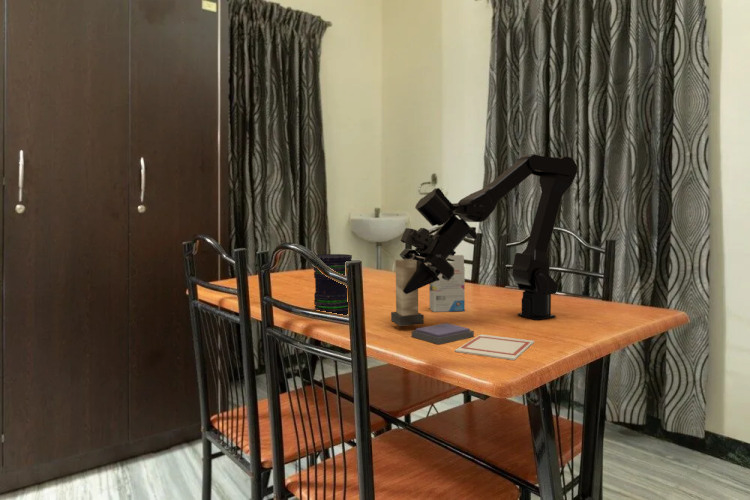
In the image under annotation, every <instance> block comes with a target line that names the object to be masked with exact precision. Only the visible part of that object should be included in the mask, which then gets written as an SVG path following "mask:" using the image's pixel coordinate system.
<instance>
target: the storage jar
mask: <svg viewBox="0 0 750 500" xmlns="http://www.w3.org/2000/svg"><path fill="white" fill-rule="evenodd" d="M316 256H317V257H318V258H320V259H321V260H322V261H323V262H324V263H325V264H326V265H327V266H329V267H330V268H331V269H333V270H334V271H336V272H338V273H340V274H343V275H345V262H346V261H352V258H353V255H352V254H343V253H342V254H341V253H332V254H329V253H328V254H327V253H326V254H325V253H324V254H317V255H316ZM313 271H314V272H313V278H314V285H315V286H314V287H315V292H314V300H313V303H314V311H315V310H320V311H326V312H332V313H337V314H343V315H347V314H348V302H347V288H346V286H345V285H343V284H340V283H338V282H336V281H334V280H332V279H330V278H328V277H326V276H325V275H324V274H322V273H321V272H320V271H319V270H318V269H317V268H315V267H314V266H313Z"/></svg>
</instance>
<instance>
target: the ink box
mask: <svg viewBox="0 0 750 500" xmlns="http://www.w3.org/2000/svg"><path fill="white" fill-rule="evenodd" d="M464 257H465V256H464V255H463V254H455V255H454V256H451V255H449V257H448V258H447V259H446V260H447V261H448V259H450V260H453V261H448V262H449V263H450V264H451V265H452V267H453V268H454V275H453V277H452V278H451V279H450V280H449V281H447V280H444V279H443V278H442V274H440V275H439V276H438V278H439V279H440V280H439V281H435V282H433V283H430V284H428V285H429V287H428V288H429V310H431V312H432V313H433V312H434V313H440V312H444V313H445V312H465V310H466V309H465V305H466V304H465V301H466V300H465V296H466V295H465V285H466V284H465V283H466V282H465V281H466V280H465V279H466V278H465V271H466V270H465V258H464Z"/></svg>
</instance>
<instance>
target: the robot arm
mask: <svg viewBox="0 0 750 500" xmlns="http://www.w3.org/2000/svg"><path fill="white" fill-rule="evenodd" d="M577 174H578V164H577V163H576V161H575V160H574V158H572V157H570V156H562V157H555V156H553V157H552V156H543V155H538V154H535V153H533V154H526V155H522V156H521V157H520V158H518V160H517V161H516V162H515V163H513V164H512V165H511V166H509V167H508V168H507V169H506V170H505V171H504V172H502V173H501V174H499V176H498V177H496V178H494V179H493V180H492V181H491V182H490V183H489V184H487V185H486V186H485V187H483V188H481V189H479V190H477V191H475V192H473V193H470V194H468V195H466V196H464V197H463V198H461V199H460V200H459V201H458V202H456V203H455V202H454V203H452V202H451V201H450V200H449V199H448V197H447V196H446V195H445V194H444V192H443V191H442V189H440V188H439V187H437V188H434V189H433V190H432V191H430V192H429V193H427V194H426V195H425V196H423V197H421V198H420V199H419V200H418V202H417V203H416V205H415V208H414V209H416V211H417V212H419V214H420V215H421V216H422V217H423V218H424V219H425V220H426V221H427V223H429V224H430V225H431V226H432V227H434V226H438V227H439V229H438V230H437V231H436V232H435V233H434V234H432V233H431V234H430V230H429V229H427V228H425V227H420V228H419V229H414V228H410V227H408V228H407V227H406V228H405V230H404V231H403V233H402V236H401V238H400V242H401V243H403V244H408V245H410V246H412V247H414V249H410V248H405V249H403V250H402V251H401V252H400V254H399V257H400V258H402V260H403V259H413V260H417V267H416V272H415V273H414V274H413V276H412V277H411V279H410V280H409V282H408V283H407V285H406V286H405V288H404V290H403V292H404V293H405V294H408V293H410V292H412V291H415V290H417V289H418V290H419V289H421V288H423V287H425V286H428V285H429V284H430V283H433V282H435V281H439V280H440V279H439V278H438V276H439V275H440V274H442V278H443V279H444V280H447V281H449V280H450V279H451V278H452V277H453V275H454V268H453V267H452V265H451V264H450V263H449V262H450V261H448V259H447V258H448V257H449V255H451V256H454V255H456V253H457V252H456V249H457V247H458V246H459V245H460V244H461V243H462V242H463V240H464V239H465V238H466V239H468V240H469V239H470V240H476V239H478V238H477V237H478V236H477V227H476V226H475V227H474V226H470V224H468V223H483V222H484V221H486V220H487V219H488V218H489V217H490V216H491V215H492V213H494V211H495V209H496V207H497V205H498V203H499V202H500V200H502V199H503V198H504V197H506V196H507V194H509V193H510V192H511V191H512V190H514V189H515V188H516V187H517V186H518V185H520V184H521V183H522V182H524V181H525V179H527V178H528V177H529V176H531V175H532V176H535V177H539V180H538V181H539V184H540V185H539V186H540V190H541V193H540V198H539V201H538V205H537V209H536V212H535V214H534V215H535V216H534V218H533V222H532V227H531V230H530V234H529V238H528V242H527V244H526V248H525V249H524V250H522V251H523V252H515V255H514V260H513V264H512V265H511V266H510V269H511V270H512V273H511V274H512V277H513V280H514V281H515V283H516V284H517V288H518V290H519V291H522V297H521V312H518V313H517V316H520V317H524V318H529V319H532V320H535V321H536V320H538V321H540V320H544V319H551V318H556V314H551V313H552V311H551V310H552V308H551V307H552V294H553V295H554V294H555V295H556V293H557V290H558V288H559V284H558V283H557V282H556V281H555V280H554V279H553V277H551V275H550V266H551V265H550V259H549V255H548V251H549V247H550V244H551V241H552V240H551V239H552V235H553V232H554V228H555V225H556V221H557V218H558V214H559V210H560V207H561V202H562V198H563V196H564V195H565V193H567V191H568V190H569V189H570V187H571V186H573V185H572V184H573V183H574V181H575V179H576V176H577ZM446 259H447V260H446Z"/></svg>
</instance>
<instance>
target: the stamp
mask: <svg viewBox="0 0 750 500" xmlns="http://www.w3.org/2000/svg"><path fill="white" fill-rule="evenodd" d="M416 267H417V260H413V259H403V258H402V259H395V311H391V312H390V321H391V322H392V323H394V324H395V325H398V326H399V327H405V326H416V325H424V324H425V323H424V322H425V321H424V320H425V319H424V318H425V317H424V314H422V313H420V312H419V289H417V290H415V291H412V292H410V293H408V294H405V293H404V292H403V290H404V288H405V286H406V285H407V283H408V282H409V280H410V279H411V277H412V276H413V274H414V273H415V272H416Z"/></svg>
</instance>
